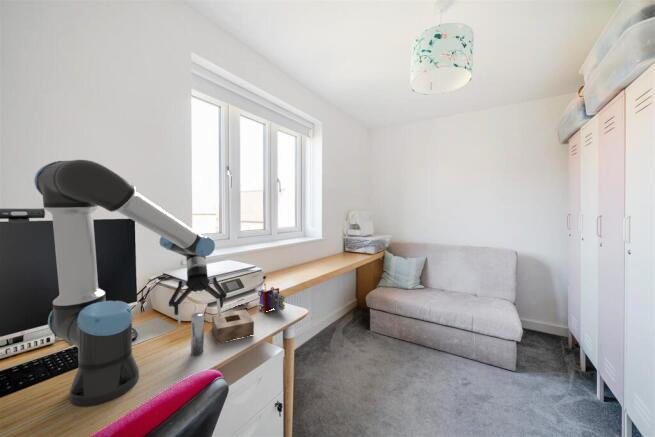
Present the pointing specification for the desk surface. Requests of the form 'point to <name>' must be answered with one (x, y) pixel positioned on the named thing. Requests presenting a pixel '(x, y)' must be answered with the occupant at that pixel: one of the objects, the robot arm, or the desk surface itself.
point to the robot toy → (270, 299)
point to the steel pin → (197, 333)
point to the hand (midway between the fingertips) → (200, 319)
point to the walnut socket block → (232, 326)
